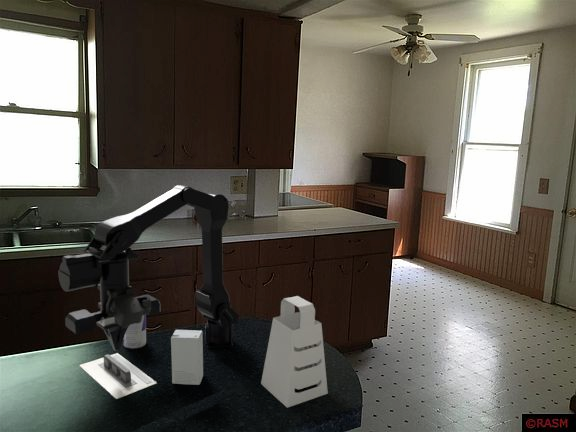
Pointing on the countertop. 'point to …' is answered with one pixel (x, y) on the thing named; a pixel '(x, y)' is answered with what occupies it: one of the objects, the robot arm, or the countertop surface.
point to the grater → (295, 354)
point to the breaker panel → (117, 377)
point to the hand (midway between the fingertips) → (116, 350)
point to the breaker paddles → (117, 368)
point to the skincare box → (187, 357)
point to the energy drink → (136, 334)
